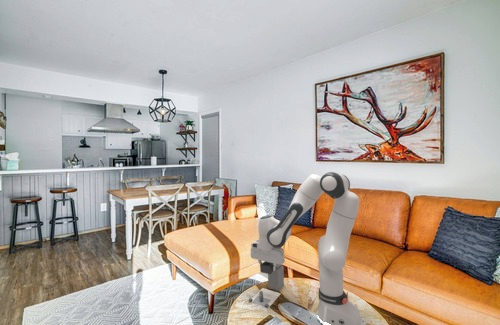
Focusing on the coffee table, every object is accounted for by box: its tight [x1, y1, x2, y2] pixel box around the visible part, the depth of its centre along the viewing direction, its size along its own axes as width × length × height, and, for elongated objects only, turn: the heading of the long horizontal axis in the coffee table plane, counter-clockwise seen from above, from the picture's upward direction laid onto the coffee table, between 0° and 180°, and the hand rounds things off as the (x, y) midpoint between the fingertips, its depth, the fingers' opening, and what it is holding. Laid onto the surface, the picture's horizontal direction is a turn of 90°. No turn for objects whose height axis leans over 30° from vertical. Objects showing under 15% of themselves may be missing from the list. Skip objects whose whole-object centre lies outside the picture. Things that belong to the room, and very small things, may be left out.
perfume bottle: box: [267, 264, 285, 292], centre depth 151 cm, size 7×7×18 cm
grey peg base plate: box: [247, 287, 282, 310], centre depth 140 cm, size 12×16×6 cm
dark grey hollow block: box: [259, 261, 274, 275], centre depth 143 cm, size 6×6×4 cm
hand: (267, 268), depth 143 cm, fingers closed on dark grey hollow block, 6 cm apart
